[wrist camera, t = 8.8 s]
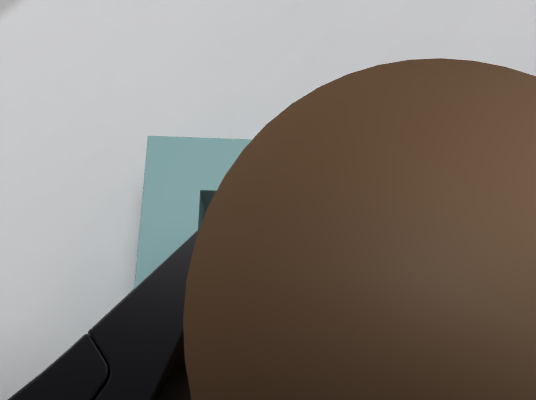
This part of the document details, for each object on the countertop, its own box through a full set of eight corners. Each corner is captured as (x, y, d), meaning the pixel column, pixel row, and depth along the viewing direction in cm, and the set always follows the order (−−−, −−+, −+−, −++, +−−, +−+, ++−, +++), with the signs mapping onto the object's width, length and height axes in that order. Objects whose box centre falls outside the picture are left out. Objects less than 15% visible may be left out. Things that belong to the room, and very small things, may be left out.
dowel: (381, 308, 15) (810, 210, 4) (321, 433, 14) (667, 815, 3) (267, 245, 16) (345, -21, 4) (201, 363, 15) (60, 441, 3)
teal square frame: (436, 461, 14) (497, 497, 11) (145, 460, 14) (115, 497, 10) (417, 187, 17) (462, 147, 13) (166, 179, 16) (148, 135, 13)
